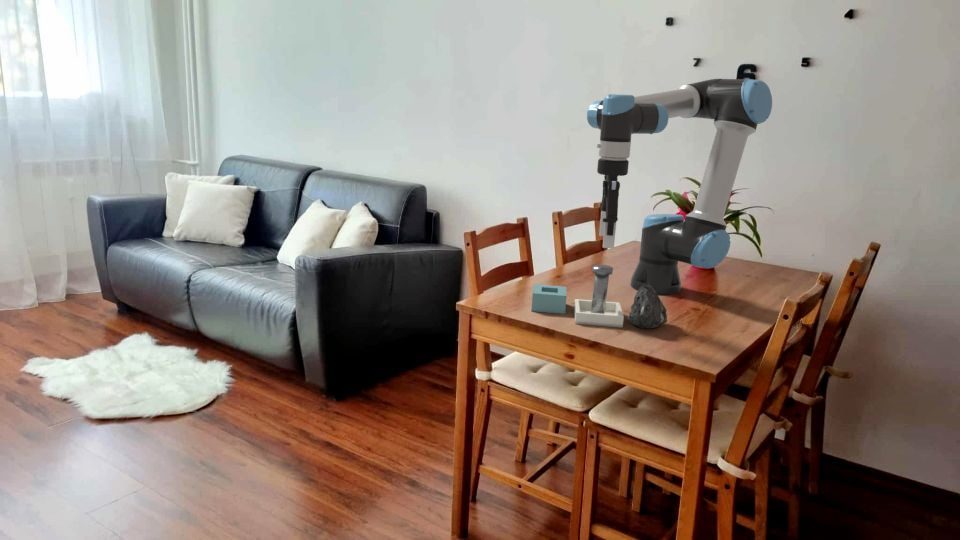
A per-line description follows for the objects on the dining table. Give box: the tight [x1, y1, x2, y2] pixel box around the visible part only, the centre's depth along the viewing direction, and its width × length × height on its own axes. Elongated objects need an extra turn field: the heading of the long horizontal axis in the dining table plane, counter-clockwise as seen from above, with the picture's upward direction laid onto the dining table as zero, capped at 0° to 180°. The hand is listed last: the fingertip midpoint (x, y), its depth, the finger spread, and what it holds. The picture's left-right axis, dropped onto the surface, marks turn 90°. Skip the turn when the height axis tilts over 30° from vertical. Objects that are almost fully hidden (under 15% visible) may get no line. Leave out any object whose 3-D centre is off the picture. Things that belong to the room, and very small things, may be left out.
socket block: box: [531, 283, 567, 315], centre depth 185 cm, size 9×9×5 cm
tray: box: [573, 298, 624, 328], centre depth 178 cm, size 12×12×3 cm
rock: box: [626, 285, 668, 329], centre depth 174 cm, size 12×10×10 cm
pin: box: [591, 264, 614, 314], centre depth 176 cm, size 5×5×13 cm
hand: (606, 241), depth 173 cm, fingers open, 13 cm apart
